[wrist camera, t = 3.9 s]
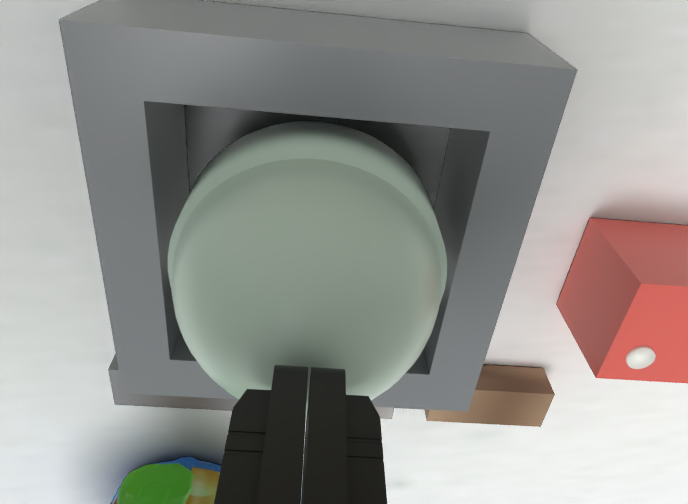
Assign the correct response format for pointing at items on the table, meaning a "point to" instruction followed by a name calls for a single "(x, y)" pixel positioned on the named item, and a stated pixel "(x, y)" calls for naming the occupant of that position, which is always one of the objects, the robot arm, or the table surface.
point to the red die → (630, 300)
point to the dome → (307, 260)
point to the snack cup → (170, 483)
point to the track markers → (486, 408)
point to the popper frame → (314, 100)
